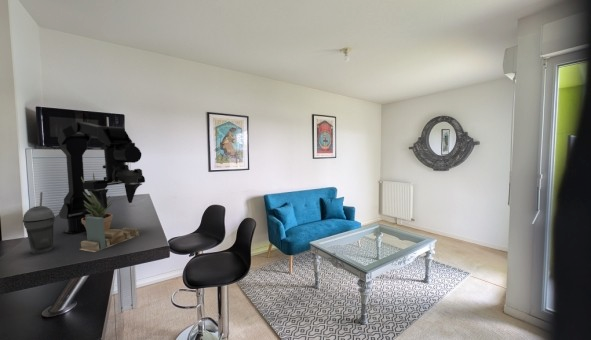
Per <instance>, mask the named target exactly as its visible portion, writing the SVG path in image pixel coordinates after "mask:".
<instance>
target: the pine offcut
mask: <svg viewBox="0 0 591 340" xmlns="http://www.w3.org/2000/svg"><path fill="white" fill-rule="evenodd" d="M104 232H105V238H106V239H114V238H117V237H119V236H122V235H124V234H123V230H122V229H118V228H117V229H116V228H113V229H112V228H109V230H106V231H104Z"/></svg>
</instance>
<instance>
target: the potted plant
mask: <svg viewBox="0 0 591 340" xmlns="http://www.w3.org/2000/svg"><path fill="white" fill-rule="evenodd" d="M92 178H93V179H92V180H96V178H95V174H94V172H92ZM81 179H82V181H83V183H84V182H85V181H86V180H85V179H84V180H83V178H82V177H81ZM83 193H84V192H83ZM87 193H89V195H90V196H91V198H90V197H88V196H87V195H86V194H85V193H84V195H85V196H86V198H87V199H88V200H89V201H90V202H91V203H92V205H91V204H88V203H87V202H85V201H84V203H85V204H86V205H87V206H86V205H85V204H84V205H85V206H86V207H87V208H88V209H89V210H91V211H89V210H88V209H86V210H87V211H88V212H89V213H91V214H88V216H87V215H86V217H90V216H92V217H101V218H103V220H104V231H106V230H109V229H111V222H112V220H113V219H114V218H113V213H109V212H108V211H107V210H108V209H109V208H110V207H111V205H112V204H113V203H111V201H109V202H108V200H109V199H110V196H111V195H109V196H107V209H104V208H103V207H102V205H101V204H100V202H99V201H98V199H97V198H96V197H95V196H94V195H93V193H92V192H91V191H88V190H87ZM106 211H107V212H106ZM86 217H85V218H86ZM85 218H82V219H81V221H82V224H84V226H85V228H86V220H85Z"/></svg>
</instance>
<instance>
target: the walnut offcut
mask: <svg viewBox="0 0 591 340" xmlns="http://www.w3.org/2000/svg"><path fill="white" fill-rule="evenodd" d="M124 240H125V235H122V236H119V237H117V238H114V239H109V241H110V245H112V246H114V245H113V244H115V245H117V244H119V243H118V242H120V243H122V242H121V241H123V242H125V241H126V240H125V241H124ZM116 243H117V244H116Z"/></svg>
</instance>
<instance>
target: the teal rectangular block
mask: <svg viewBox="0 0 591 340" xmlns="http://www.w3.org/2000/svg"><path fill="white" fill-rule="evenodd" d="M89 216H90V215H89ZM85 220H86V230H85V231H86V239H87V240H86V241H91V242H97V243H99V249H102V250H104V249H107V248H106V244H105V232H104V220H103V218H101V217H92V216H90V217H87V216H86V218H85ZM103 248H104V249H103Z"/></svg>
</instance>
